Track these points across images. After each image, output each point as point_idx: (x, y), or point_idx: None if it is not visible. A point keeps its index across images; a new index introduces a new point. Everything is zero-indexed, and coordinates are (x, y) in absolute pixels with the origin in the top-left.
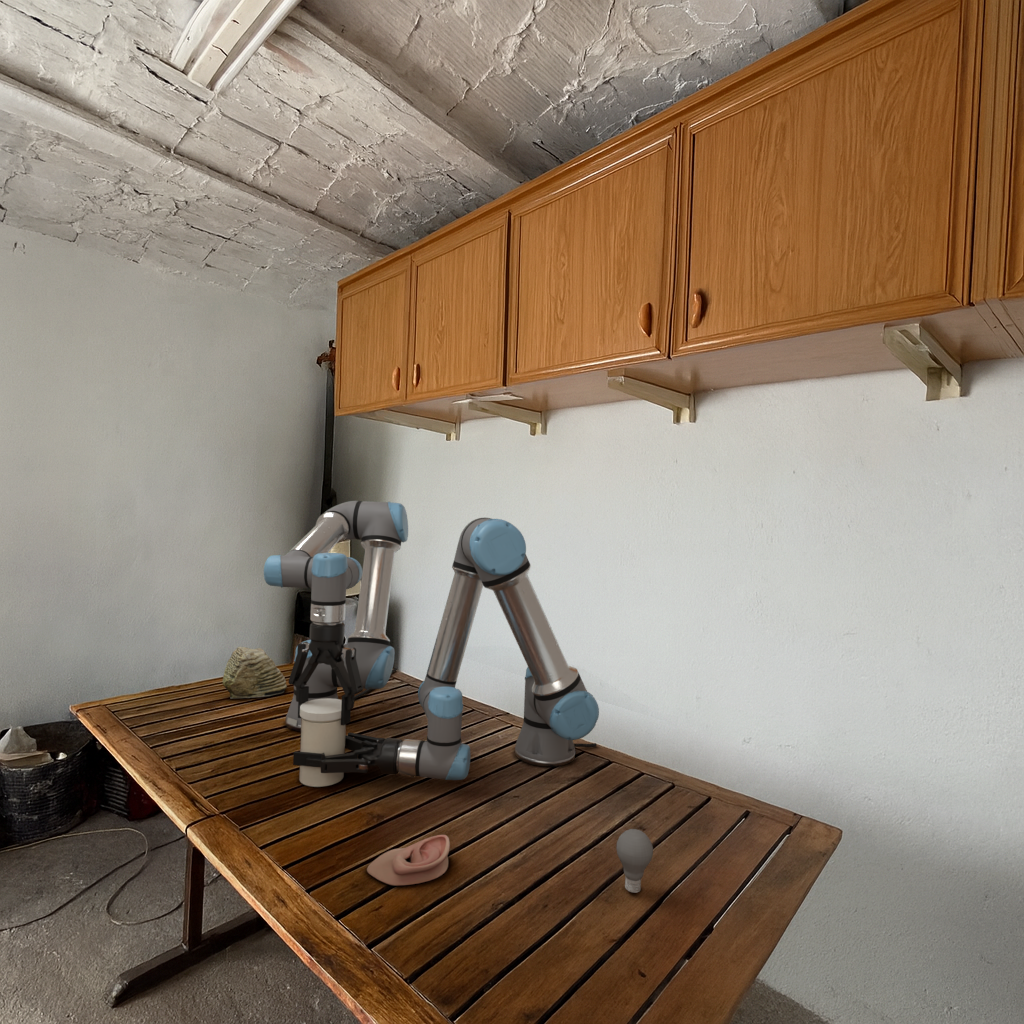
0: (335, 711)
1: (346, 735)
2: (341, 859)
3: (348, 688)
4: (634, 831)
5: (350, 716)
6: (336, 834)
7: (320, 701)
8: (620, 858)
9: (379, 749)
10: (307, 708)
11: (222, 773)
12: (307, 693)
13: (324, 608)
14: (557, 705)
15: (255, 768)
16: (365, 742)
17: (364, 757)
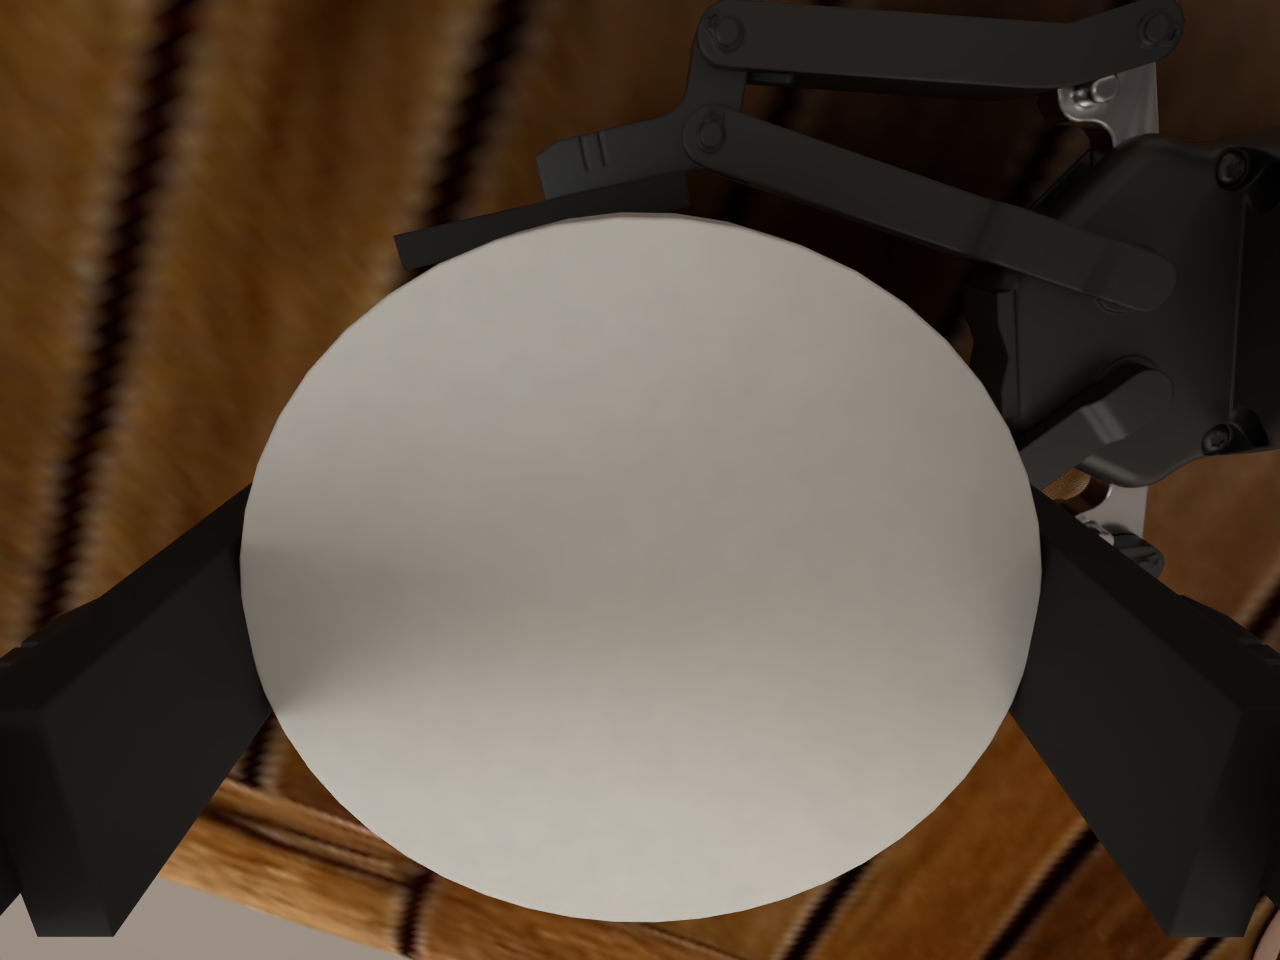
0: (940, 767)
1: (720, 117)
2: (1124, 939)
3: None
4: None
5: (1034, 488)
6: (1032, 824)
7: (436, 485)
8: None
9: (1188, 300)
10: (487, 818)
11: (56, 556)
12: (151, 655)
13: None
14: None
15: (159, 424)
16: (1028, 261)
17: (1088, 474)
